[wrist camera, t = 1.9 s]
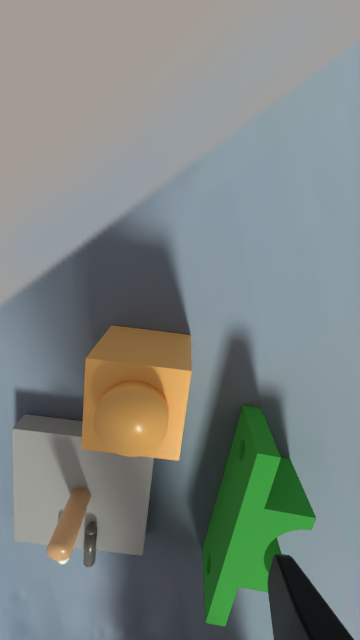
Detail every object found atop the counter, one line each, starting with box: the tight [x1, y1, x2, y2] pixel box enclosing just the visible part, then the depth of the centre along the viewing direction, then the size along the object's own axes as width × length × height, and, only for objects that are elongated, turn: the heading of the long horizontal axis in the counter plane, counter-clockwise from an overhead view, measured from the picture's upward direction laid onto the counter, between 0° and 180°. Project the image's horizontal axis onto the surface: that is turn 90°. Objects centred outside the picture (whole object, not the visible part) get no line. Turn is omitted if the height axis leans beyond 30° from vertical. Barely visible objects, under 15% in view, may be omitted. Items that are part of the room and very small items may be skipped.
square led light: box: [81, 325, 192, 461], centre depth 16 cm, size 4×4×6 cm
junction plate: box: [12, 414, 154, 567], centre depth 19 cm, size 9×8×5 cm
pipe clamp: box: [202, 405, 316, 626], centre depth 19 cm, size 11×4×5 cm, turn 169°
